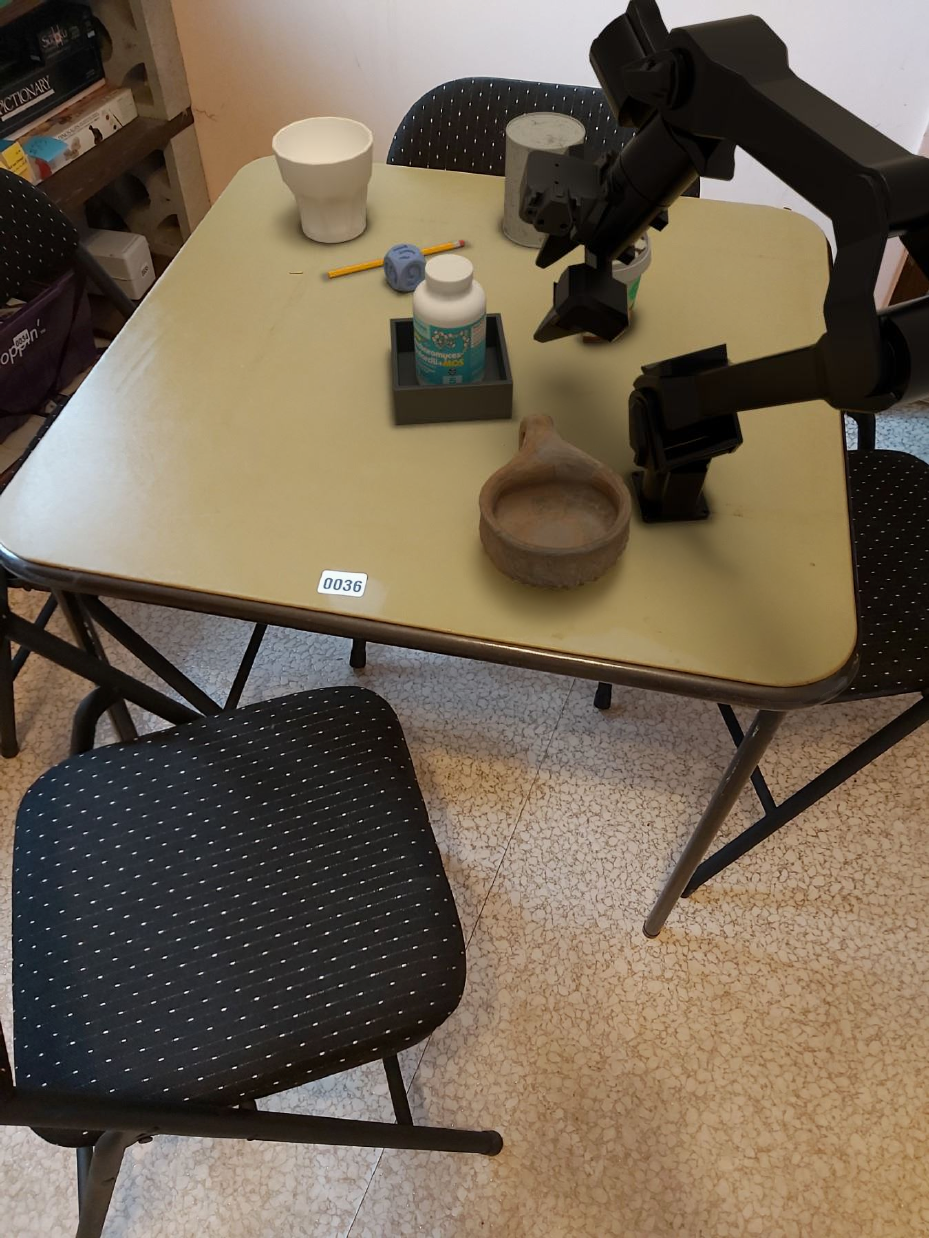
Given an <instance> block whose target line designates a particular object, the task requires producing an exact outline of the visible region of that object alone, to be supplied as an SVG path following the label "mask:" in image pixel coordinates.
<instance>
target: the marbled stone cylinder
mask: <svg viewBox="0 0 929 1238" xmlns="http://www.w3.org/2000/svg"><path fill="white" fill-rule="evenodd" d="M505 133H506V135H505V138H506V139H505V164H504V165H505V166H504V167H505V169H504V194H503V195H504V199H503V200H504V201H503V224H502V232H503V233H504V235H505V237H506V238H507V239H508V240H510V241H511V242H513V243H515V244H517V245H520V246H522V247H526V248H534V249H541V246H542V244H543V241H544V239H545V237H546V234H547V233H541V232H537V231H536V230H535V229H534V227H533V225H532V224H527V223H525V222H524V221H522V220H521V219H520V217H519V198H520V193H519V189H520V184H521V181H522V177H523V173H524V169H525V165H526V161H527V157H528V154H529V153H530V152H531V151H534V150H541V151H546V152H551V153H557V154H562V155H563V154H564V152H565V151H566V150H567V148H568V147H569V146H572V145H577V144H581V143H584V140H585V135H586V129H585V126H584V125H583V123H582V122H580V120H578V119H576V118H574V117H572V116H570V115H566V114H563V113H558V112H549V111H539V112H538V111H537V112H530V113H526V114H522V115H519V116H517V117H515V118H513V119H511V120H510V121H509V123H507V124H506V127H505Z"/></svg>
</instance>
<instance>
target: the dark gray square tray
mask: <svg viewBox="0 0 929 1238" xmlns="http://www.w3.org/2000/svg"><path fill="white" fill-rule="evenodd" d="M389 332H390V333H389V334H390V353H391V375H392V391H393V392H392V393H393V402H394V413H395V424H396V425H397V426H398V425H413V424H430V423H431V424H432V423H433V424H434V423H446V422H450V423H451V422H465V421H482V420H483V421H484V420H496V419H498V420H499V419H511V418H513V417H512V416H513V398H514V380H513V379H514V378H513V374H512V368H511V364H510V357H509V352H508V347H507V341H506V336H505V331H504V325H503V319H502V313H501V312H492V313H491V312H489V313H486V339H485V372H484V381H483V382H467V383H450V384H432V385H419V384H418V381H417V377H416V361H415V341H414V323H413V317H396V318H389Z"/></svg>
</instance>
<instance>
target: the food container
mask: <svg viewBox="0 0 929 1238" xmlns="http://www.w3.org/2000/svg"><path fill="white" fill-rule="evenodd" d="M651 263H652V243H651V239H650V236H649V233H648V231H647V232H646V233H645V234H644V235H643V236H642V237H641V238H640V239H639V240H638V241H637V242H636V243H635V259H634V260H633V261H632V262H631V263H630V264H629V265H628V266H627V265H625V264H623V263H622V262H620V261H618V260H616V259H615V260H614V261H613V262H612V269H613V278H615V279H617V280H618V281H620V282H622V283H624V284H626V285H627V289H628V298H629V323H630V321H631V318H632V314H633V310H634V306H635V301H636V298H637V294H638V291H639V286H640V283H641V279H642V276H643V274H644V273H645V272H646V271H648V269H649V267H650V266H651ZM605 341H606V340H604V339H602V338H600V337H598V336H596V335H594V334H592V333H590V332H586V333H582V342H588V343H595V342H605Z"/></svg>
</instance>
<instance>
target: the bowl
mask: <svg viewBox="0 0 929 1238" xmlns="http://www.w3.org/2000/svg"><path fill="white" fill-rule="evenodd" d="M557 432H558V431H556V429H555V424H554V420H553V417H552V416H551V415H550V414H546V413H544V414H543V413H542V414H541V413H540V414H531V415H527V416H524V417H523V418H522V419H521V420H520V423H519V428H518V451H517V452H516V453H515V455H513V457H511V459H510V460H509V461H508V462H507V463H506V464H504V465H503V466H501V467H500V468H498V469H497V470H496V471H494V473H492V474H491V475H490V476H489V477H488V478H487V480H486V481H485V482H484V484H483V485H482V486H481V489H480V492H479V495H478V505H479V512H480V513H479V514H480V515H479V523H478V531H479V533H478V535H479V539H480V542H481V545H482V546H483V549H484V552H485V554H486V555H487V557H488V559H489V561H490V562H491V563H492V565H494V566H495V568H497V571H499V572H500V573H502V574H503V575H505V576H506V577H507V578H509V579H510V580H512V581H516V582H517V583H518V584H521V585H528V586H530V587H532V588H538V589H545V590H554V589H555V590H563V589H565V590H568V591H569V590H574V589H575V588H576V587H585V586H587V585H588V584H589V583H591V582H596V581H597V580H598V579H600V578H601V577H602V576H604V575H606V573H607V572H608V571H610V569H611V568H613V566H615V565H616V564H617V562H618V561H619V559H620V557H621V556H623V553H624V551H625V550H626V548H627V543H628V542H629V540H630V533H631V532H630V529H631V528H630V522H631V517H632V514H633V513H632V512H633V505H632V504H633V503H632V497H631V492H630V489H628V487H627V486H626V484H625V483H624V480H623V478H622V477H621V475H619V474H617V473H616V472H615V471H614V470H612V469H611V468H610V467H608V466H607V465H605V464H603V463H602V462H601V461H598V460H597V459H595V458H594V457H592V456H591V455H590V454H588V453H586V452H584V451H583V450H581V449H578V448H577V447H575V446H574V445H572V444H571V443H568V442H567V441H566V440H564V439H563V438H562V437H561V436H560V435H559V434H558V433H557Z"/></svg>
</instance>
